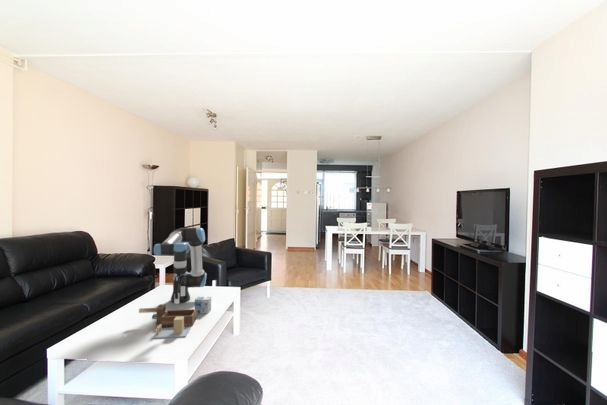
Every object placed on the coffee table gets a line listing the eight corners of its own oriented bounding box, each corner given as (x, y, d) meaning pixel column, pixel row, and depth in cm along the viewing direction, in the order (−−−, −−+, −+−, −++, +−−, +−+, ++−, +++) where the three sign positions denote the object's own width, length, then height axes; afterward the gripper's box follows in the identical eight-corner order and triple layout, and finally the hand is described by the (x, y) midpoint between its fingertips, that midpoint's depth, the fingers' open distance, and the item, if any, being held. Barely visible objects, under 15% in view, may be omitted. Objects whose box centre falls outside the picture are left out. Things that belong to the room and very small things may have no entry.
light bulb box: (194, 313, 218) (194, 299, 218) (197, 309, 225) (197, 296, 225) (208, 313, 218) (208, 299, 218) (211, 310, 224) (211, 296, 224)
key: (140, 311, 198) (140, 308, 198) (161, 310, 200) (161, 307, 200) (138, 312, 196) (138, 309, 196) (160, 312, 198) (160, 308, 198)
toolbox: (161, 320, 205) (161, 302, 205) (196, 318, 208) (196, 301, 208) (154, 327, 193) (154, 309, 193) (192, 326, 196) (192, 308, 196)
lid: (159, 330, 190) (159, 315, 190) (190, 329, 192) (190, 314, 192) (152, 339, 178) (152, 323, 178) (185, 337, 181) (185, 321, 181)
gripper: (179, 262, 199) (179, 293, 199) (167, 272, 174) (167, 307, 174) (191, 262, 200) (190, 292, 200) (180, 271, 175) (180, 306, 176)
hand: (179, 299), depth 187 cm, fingers open, 13 cm apart
